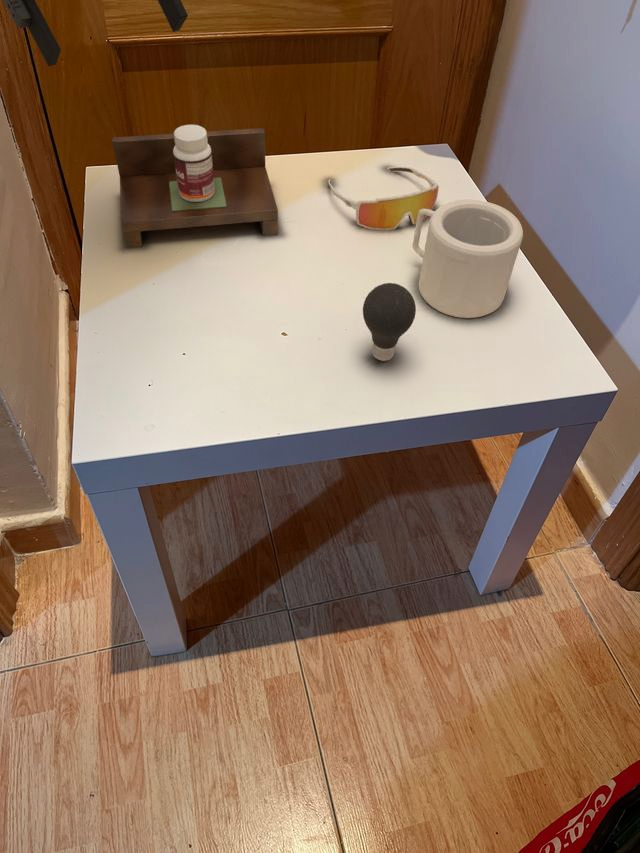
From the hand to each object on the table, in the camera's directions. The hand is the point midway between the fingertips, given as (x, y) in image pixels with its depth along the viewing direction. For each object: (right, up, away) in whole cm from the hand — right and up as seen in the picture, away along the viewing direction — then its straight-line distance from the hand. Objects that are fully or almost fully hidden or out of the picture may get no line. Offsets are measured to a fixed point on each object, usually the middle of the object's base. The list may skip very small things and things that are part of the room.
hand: (120, 40), depth 65 cm
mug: (+36, -19, +22) cm, 46 cm away
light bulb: (+26, -29, +13) cm, 41 cm away
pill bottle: (+3, -6, +26) cm, 27 cm away
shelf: (+2, -8, +29) cm, 31 cm away
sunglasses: (+28, -5, +34) cm, 44 cm away
